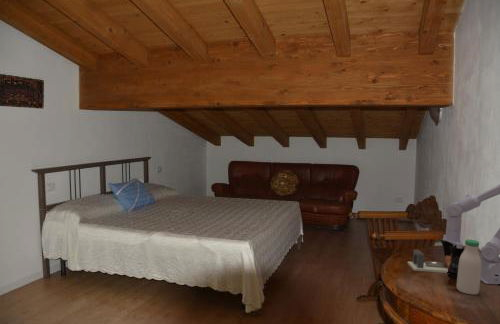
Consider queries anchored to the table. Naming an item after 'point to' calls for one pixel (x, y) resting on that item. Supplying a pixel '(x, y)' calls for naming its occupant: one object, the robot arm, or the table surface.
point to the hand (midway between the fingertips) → (451, 259)
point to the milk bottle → (469, 269)
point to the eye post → (418, 258)
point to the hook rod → (446, 264)
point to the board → (428, 268)
